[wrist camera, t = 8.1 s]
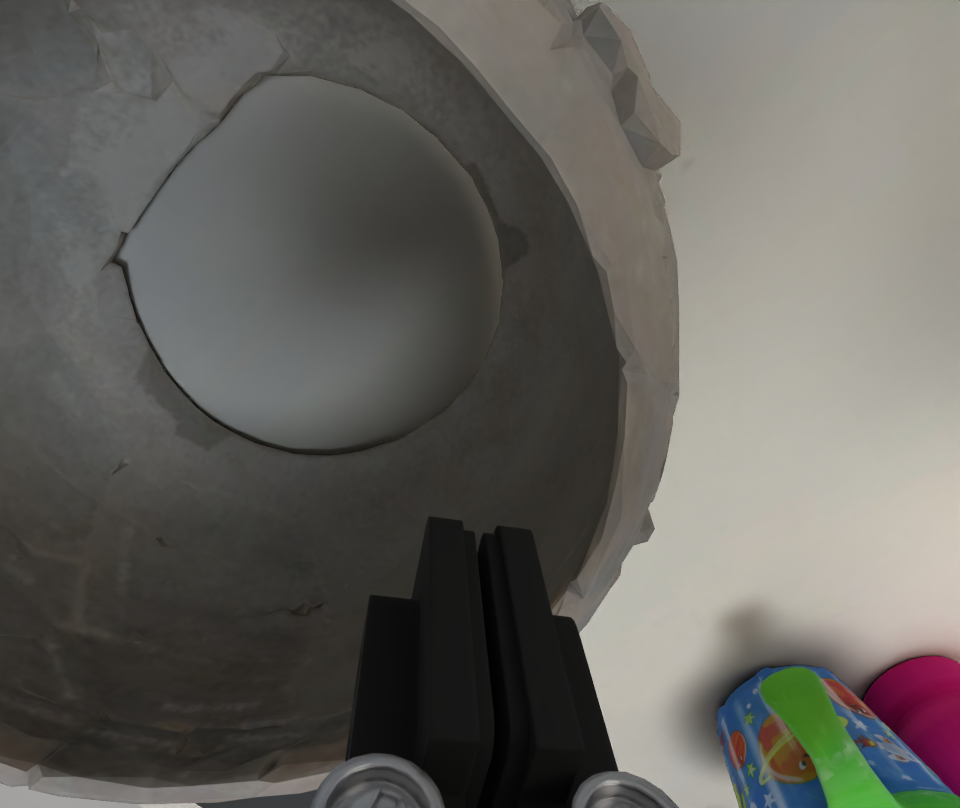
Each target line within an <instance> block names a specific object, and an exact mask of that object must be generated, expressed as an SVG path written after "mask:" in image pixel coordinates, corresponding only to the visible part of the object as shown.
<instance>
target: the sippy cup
mask: <svg viewBox="0 0 960 808" xmlns="http://www.w3.org/2000/svg"><path fill="white" fill-rule="evenodd" d="M717 721H718V730H717V733H718V736H719V741H720V745H721V748H722V753H723V756H724V759H725V763H726V766H727V769H728V772H729V775H730V779H731V782H732V785H733V788H734V792H735V795H736V798H737V801H738V804H739V808H960V797H959V796H957V795H955V794H954V793H953V792H952V791H951V790H950V788H949V787H947V786H946V785H945V784H944V783H943V782H942V781H941V779H940V778H939V777H938V776H937V775H936V774H935V773H934V772H933V771H932V770H931V769H930V768H929V767H928V766H926V765H925V763H924V762H923V761H922V760H921V759H920V758H919V757H918V756H917V755H916V754H915V753H914V752H913V751H912V750H911V749H910V748H909V747H908V746H907V745H906V744H905V743H904V742H903V741H902V740H901V739H900V738H899V737H898V736H897V735H896V734H895V733H894V732H893V731H892V730H891V729H890V728H889V727H887V726H886V725H885V724H884V723H883V722H882V721H881V720H880V719H879V718H878V717H877V716H876V715H875V714H874V713H873V712H872V711H871V710H870V709H869V708H868V707H867V706H866V705H865V704H864V703H863V702H862V701H861V700H860V699H859V698H858V697H857V696H856V695H855V693H854V692H853V691H852V690H850V688H849V687H848V686H847V685H846V684H845V683H843V682H842V681H841V680H840V679H838V678H837V677H836V676H835V675H834V674H833V673H832V672H830V671H828V670H826V669H825V668H823V667H819V668H815V667H811V666H805V665H794V666H784V667H778V668H769V667H766V668H764V669H762V670H760V671H759V672H758V673H757V674H756V676H754V677H752V678H751V679H749V680H748V681H746V682H744V683H743V684H742V685H740V686H739V687H738V688H737V689H736V690H735V691H734V692H733V693H732V694H731V695H730V696H729V697H728V699H727V701H726V703H725V704H724V706H723V707H720V708H719V710H718V714H717Z"/></svg>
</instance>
